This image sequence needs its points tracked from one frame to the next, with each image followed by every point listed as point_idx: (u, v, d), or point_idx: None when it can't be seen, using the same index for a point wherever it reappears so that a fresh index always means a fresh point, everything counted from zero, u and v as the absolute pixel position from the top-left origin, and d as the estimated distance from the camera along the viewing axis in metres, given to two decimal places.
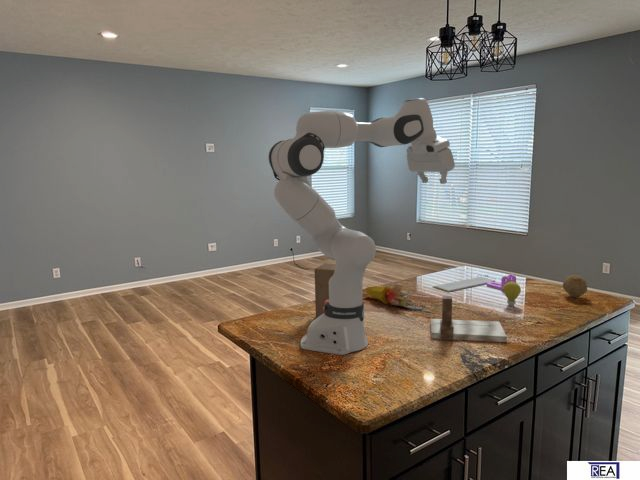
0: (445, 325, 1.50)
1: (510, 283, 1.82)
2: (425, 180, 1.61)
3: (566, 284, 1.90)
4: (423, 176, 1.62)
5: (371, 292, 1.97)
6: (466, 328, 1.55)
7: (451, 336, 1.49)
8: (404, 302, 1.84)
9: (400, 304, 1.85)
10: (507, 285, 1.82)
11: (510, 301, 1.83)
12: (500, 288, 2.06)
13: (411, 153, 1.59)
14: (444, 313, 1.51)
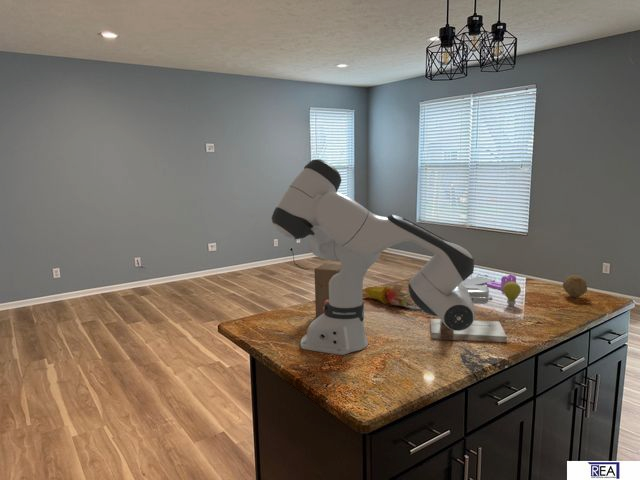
0: None
1: (510, 283, 1.82)
2: (464, 285, 1.35)
3: (566, 284, 1.90)
4: None
5: (370, 292, 1.96)
6: None
7: (451, 336, 1.49)
8: (404, 302, 1.84)
9: (400, 304, 1.85)
10: (507, 285, 1.82)
11: (510, 301, 1.83)
12: (500, 288, 2.06)
13: (476, 291, 1.24)
14: None
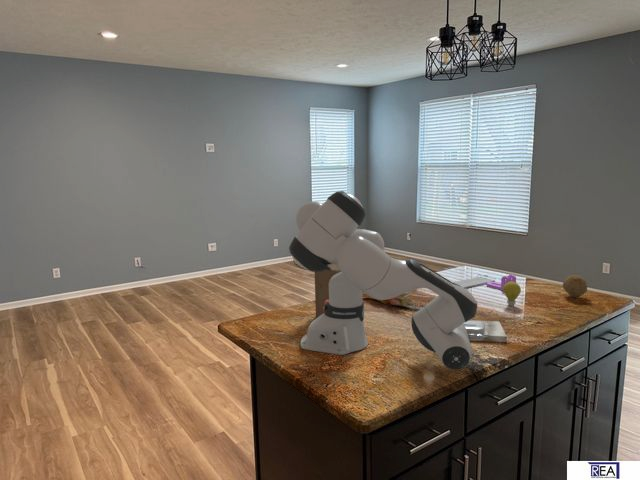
0: None
1: (510, 283, 1.82)
2: None
3: (566, 284, 1.90)
4: None
5: None
6: None
7: None
8: (404, 302, 1.84)
9: (400, 304, 1.85)
10: (507, 285, 1.82)
11: (510, 301, 1.83)
12: (500, 288, 2.06)
13: (473, 328, 1.30)
14: None
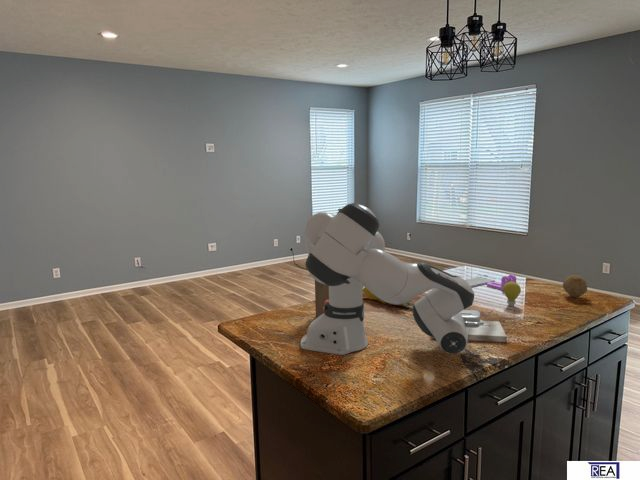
0: None
1: (510, 283, 1.82)
2: None
3: (566, 284, 1.90)
4: None
5: (369, 292, 1.96)
6: (466, 328, 1.55)
7: None
8: None
9: (401, 304, 1.85)
10: (507, 285, 1.82)
11: (510, 301, 1.83)
12: (500, 288, 2.06)
13: (469, 316, 1.40)
14: None
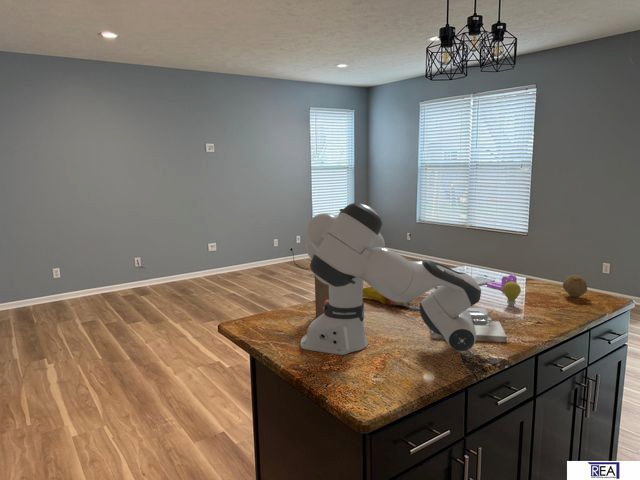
0: None
1: (510, 283, 1.82)
2: None
3: (566, 284, 1.90)
4: None
5: (368, 293, 1.96)
6: None
7: None
8: None
9: (401, 303, 1.85)
10: (507, 285, 1.82)
11: (510, 301, 1.83)
12: (500, 288, 2.06)
13: (477, 314, 1.39)
14: None
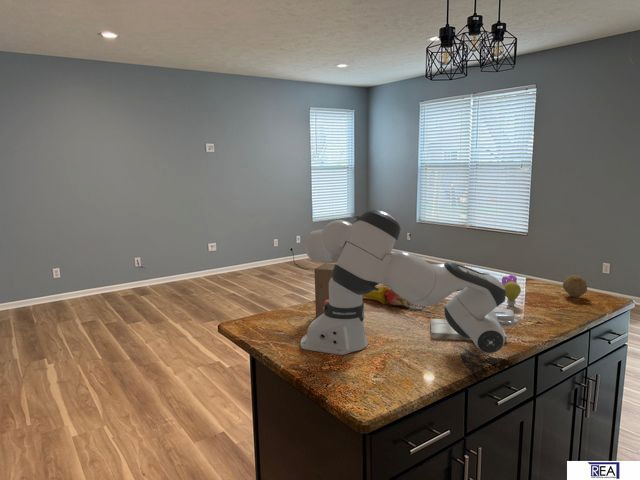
0: None
1: (510, 283, 1.82)
2: None
3: (566, 284, 1.90)
4: None
5: (368, 293, 1.95)
6: None
7: None
8: (405, 301, 1.85)
9: (401, 304, 1.86)
10: (507, 285, 1.82)
11: (510, 301, 1.83)
12: None
13: (503, 315, 1.37)
14: None
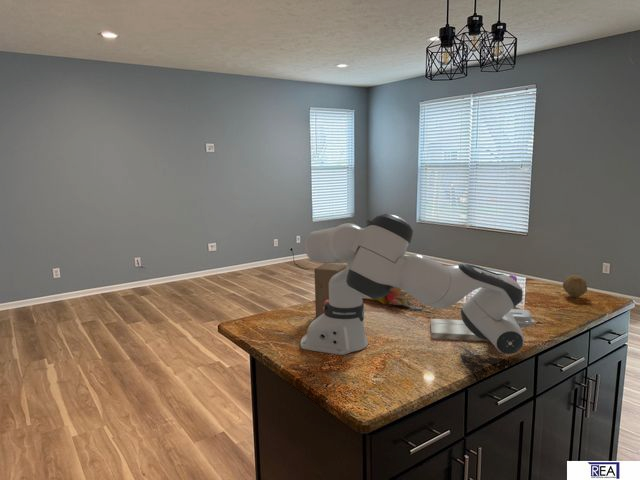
0: None
1: None
2: None
3: (566, 284, 1.90)
4: None
5: None
6: (466, 328, 1.55)
7: None
8: (405, 301, 1.85)
9: (401, 303, 1.86)
10: None
11: None
12: None
13: (520, 316, 1.36)
14: None
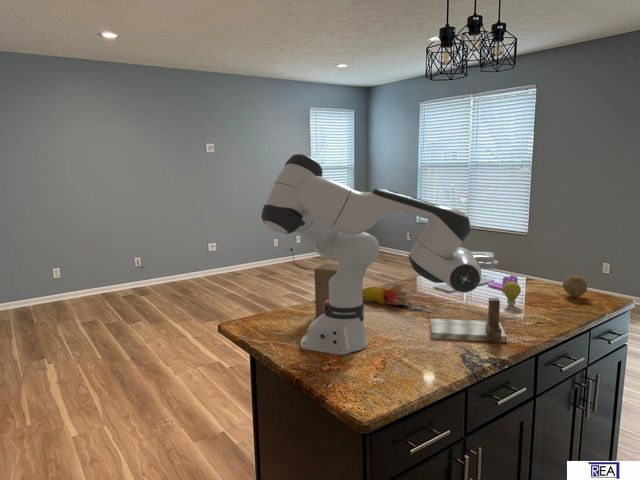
0: (492, 327, 1.47)
1: (510, 283, 1.82)
2: None
3: (566, 284, 1.90)
4: None
5: (366, 294, 1.94)
6: (466, 328, 1.55)
7: (499, 339, 1.46)
8: (406, 301, 1.86)
9: (401, 303, 1.86)
10: (507, 285, 1.82)
11: (510, 301, 1.83)
12: (501, 288, 2.06)
13: (482, 256, 1.21)
14: (491, 315, 1.47)
